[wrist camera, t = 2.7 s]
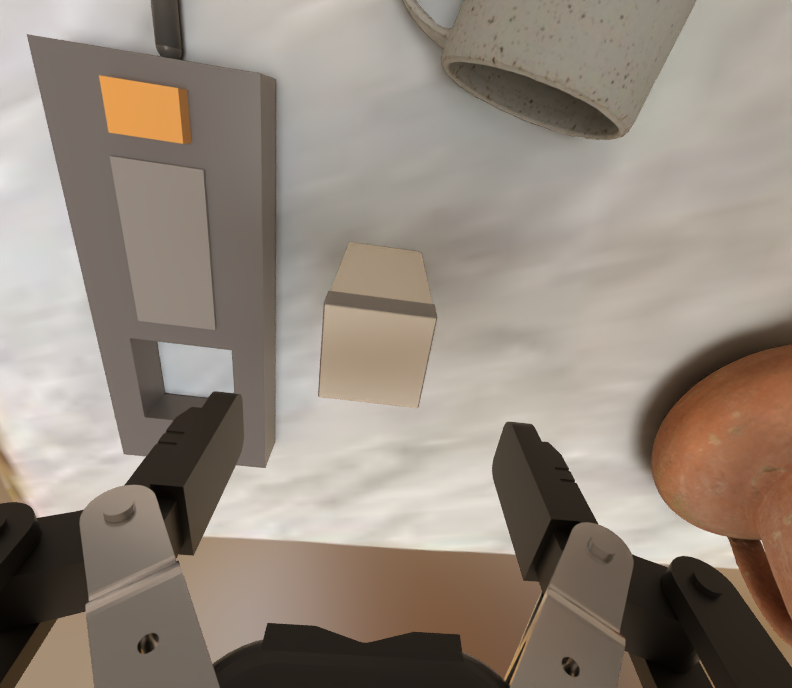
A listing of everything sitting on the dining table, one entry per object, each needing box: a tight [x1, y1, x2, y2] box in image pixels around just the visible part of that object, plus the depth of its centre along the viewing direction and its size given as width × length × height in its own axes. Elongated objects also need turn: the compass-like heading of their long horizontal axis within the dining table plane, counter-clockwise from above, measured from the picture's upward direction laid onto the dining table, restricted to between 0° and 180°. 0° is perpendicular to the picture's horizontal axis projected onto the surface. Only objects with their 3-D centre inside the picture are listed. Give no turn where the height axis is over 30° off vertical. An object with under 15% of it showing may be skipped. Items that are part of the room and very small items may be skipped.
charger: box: [318, 242, 437, 408], centre depth 19 cm, size 4×4×9 cm
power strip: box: [27, 0, 276, 468], centre depth 20 cm, size 29×9×3 cm, turn 172°
